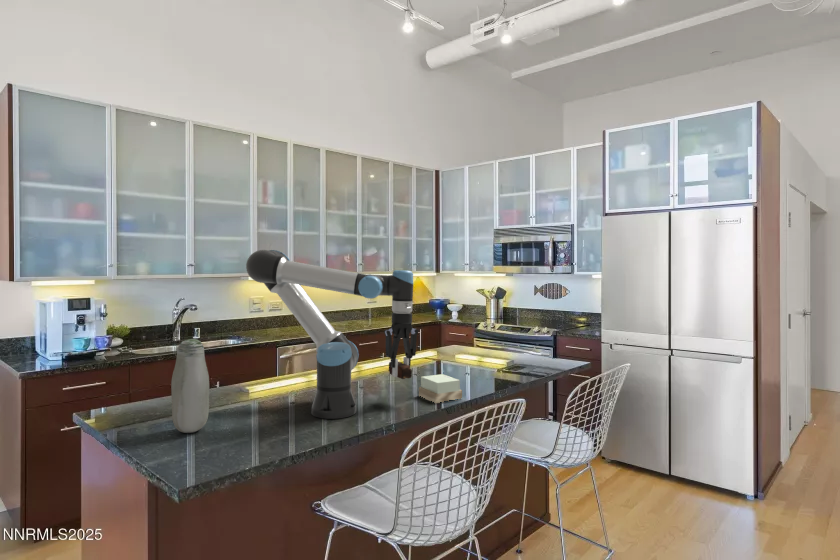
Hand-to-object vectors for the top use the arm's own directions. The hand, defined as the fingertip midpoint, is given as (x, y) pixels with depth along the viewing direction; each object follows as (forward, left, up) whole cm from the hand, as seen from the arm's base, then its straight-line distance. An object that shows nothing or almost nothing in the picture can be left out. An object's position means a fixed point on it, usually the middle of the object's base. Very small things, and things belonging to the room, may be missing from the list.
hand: (400, 375), depth 191 cm
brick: (0, 0, -1) cm, 1 cm away
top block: (+17, 0, -7) cm, 19 cm away
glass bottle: (-71, +4, -11) cm, 71 cm away
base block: (+18, 0, -11) cm, 21 cm away
